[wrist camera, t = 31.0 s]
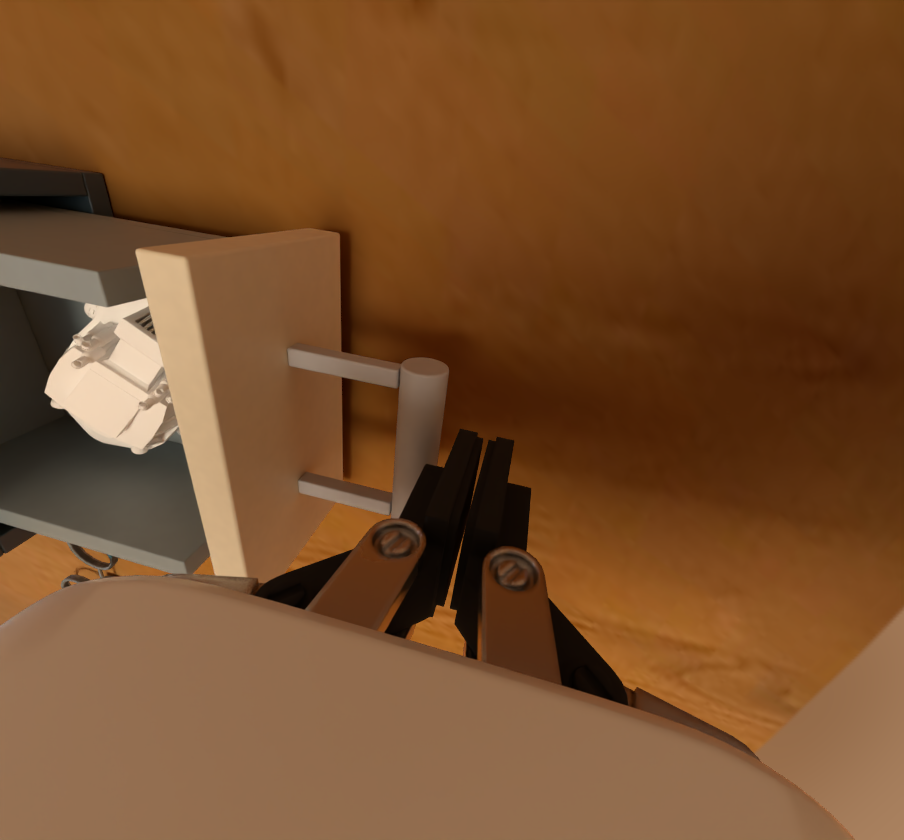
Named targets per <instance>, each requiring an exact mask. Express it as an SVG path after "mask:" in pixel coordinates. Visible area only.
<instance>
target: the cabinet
mask: <svg viewBox="0 0 904 840" xmlns="http://www.w3.org/2000/svg"><path fill="white" fill-rule="evenodd" d="M0 198H3V199H8V200H14V201H20V202H26V203H32V204H37V205H43V206H49V207H55V208H61V209H67V210H72V211H78V212H84V213H90V214H96V215H101V216H107V217H113V213H112V209H111V205H110V202H109V198H108V194H107V190H106V186H105V182H104V179H103V175H102V174H101V173H96V172H90V171H84V170H77V169H71V168H64V167H58V166H52V165H45V164H39V163H32V162H26V161H20V160H13V159H7V158H0ZM113 218H114V217H113ZM36 534H37V533H34V532H31V531H27V530H24V529H20V528H17V527H14V526H10V525H7V524H4V523H0V557H1V556H2V555H3V553H8V552H9V551H11V550H12V549H14V548H15V547H17V546H19V545H20V544H22V543H23V542H25V541H26V540H28V539H29V538H31V537H32V536H34V535H36Z"/></svg>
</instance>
